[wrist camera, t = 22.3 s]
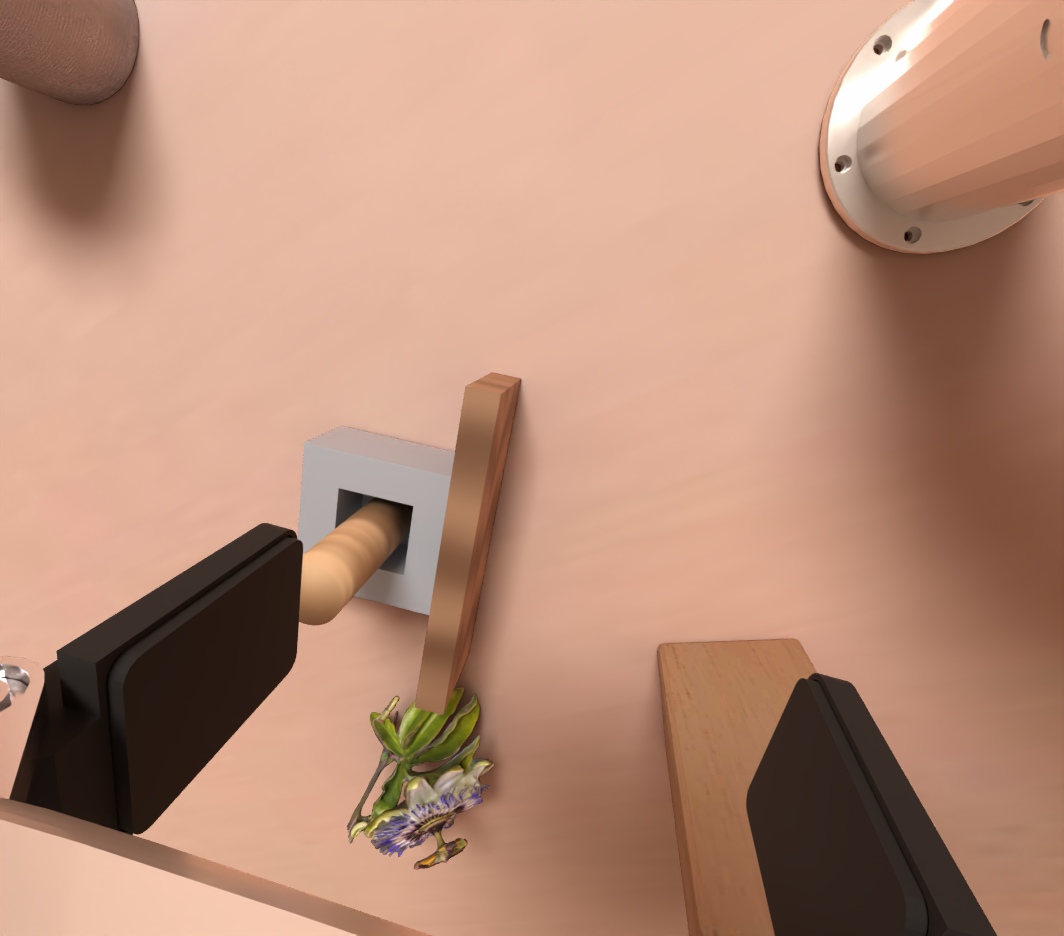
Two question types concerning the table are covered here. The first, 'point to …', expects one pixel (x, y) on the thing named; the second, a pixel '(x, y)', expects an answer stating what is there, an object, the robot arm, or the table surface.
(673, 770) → the wooden block
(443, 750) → the passion flower
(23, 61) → the pillar candle
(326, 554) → the oak dowel
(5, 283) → the table surface
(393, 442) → the socket block
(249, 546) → the robot arm
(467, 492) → the walnut wall
